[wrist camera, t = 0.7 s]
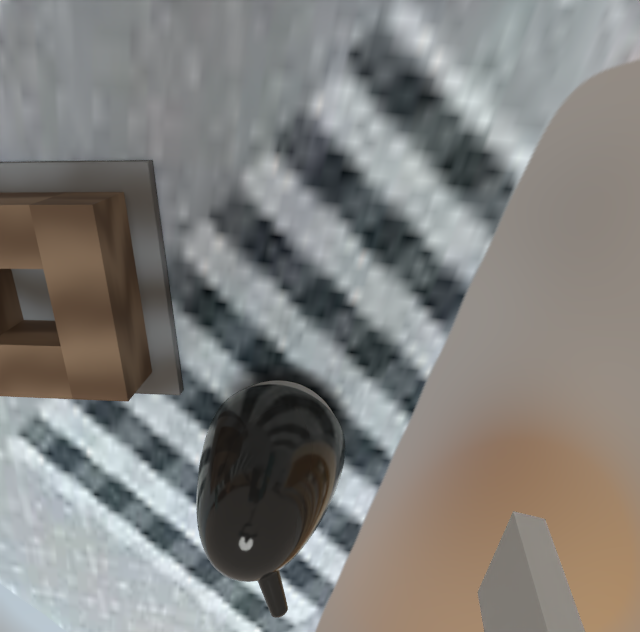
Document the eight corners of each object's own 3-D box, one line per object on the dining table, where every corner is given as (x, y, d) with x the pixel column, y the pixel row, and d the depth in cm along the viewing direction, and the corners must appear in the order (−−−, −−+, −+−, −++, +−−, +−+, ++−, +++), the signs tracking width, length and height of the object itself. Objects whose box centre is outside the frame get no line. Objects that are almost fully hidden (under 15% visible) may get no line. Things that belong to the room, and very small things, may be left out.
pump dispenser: (256, 483, 48) (202, 648, 34) (202, 382, 45) (117, 518, 31) (368, 453, 45) (358, 617, 31) (319, 344, 42) (284, 473, 28)
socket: (-87, 163, 40) (-152, 173, 35) (152, 160, 38) (118, 171, 33) (-23, 382, 47) (-69, 415, 42) (183, 389, 45) (158, 426, 40)
